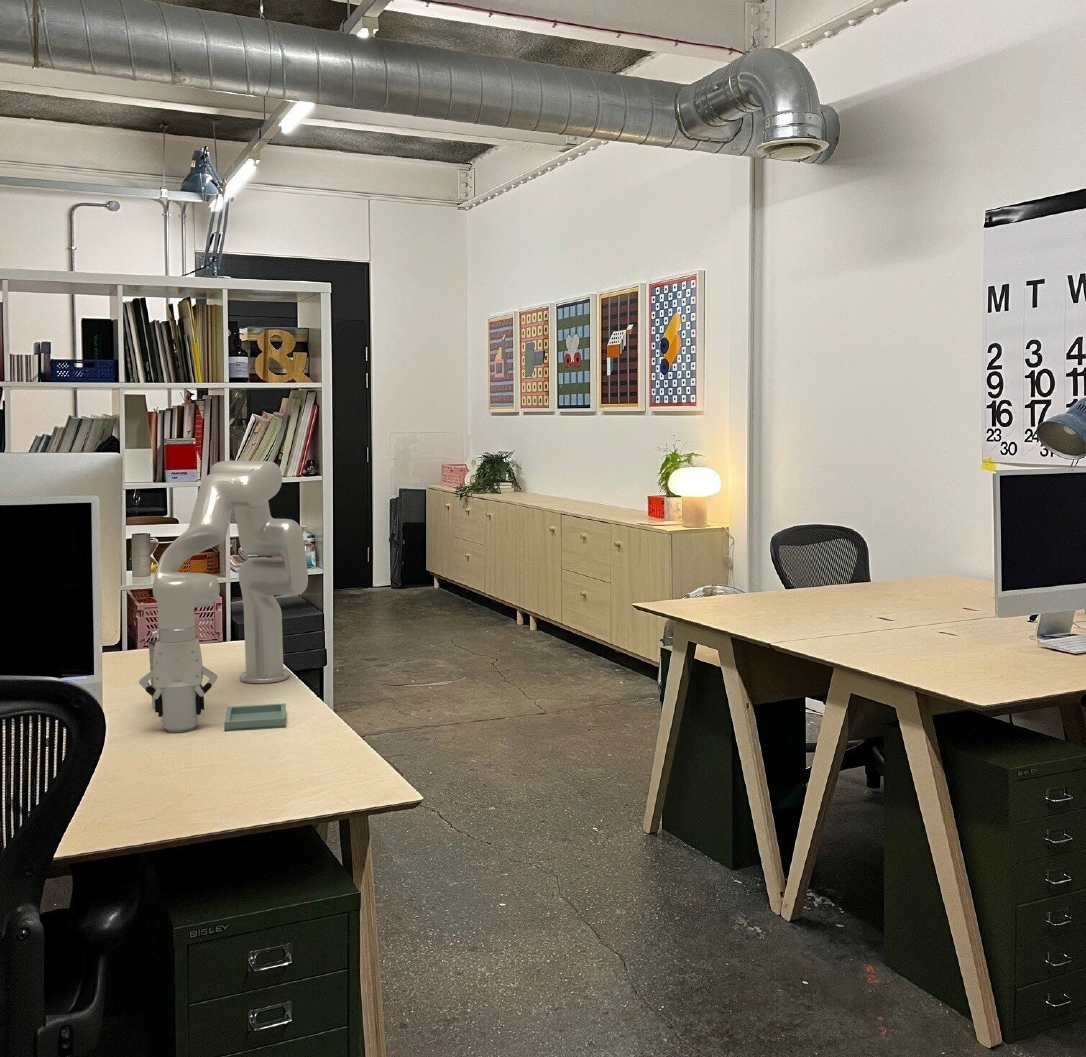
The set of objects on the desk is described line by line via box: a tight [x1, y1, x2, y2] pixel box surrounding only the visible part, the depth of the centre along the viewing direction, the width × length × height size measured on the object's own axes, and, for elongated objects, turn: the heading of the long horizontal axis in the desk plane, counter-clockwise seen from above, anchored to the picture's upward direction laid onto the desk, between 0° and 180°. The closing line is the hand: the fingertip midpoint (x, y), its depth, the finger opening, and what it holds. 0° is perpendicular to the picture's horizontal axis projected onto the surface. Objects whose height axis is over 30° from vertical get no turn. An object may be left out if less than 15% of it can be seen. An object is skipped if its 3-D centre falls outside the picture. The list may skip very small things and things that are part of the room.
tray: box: [223, 703, 287, 732], centre depth 248 cm, size 13×13×2 cm
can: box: [161, 679, 199, 733], centre depth 242 cm, size 8×8×12 cm
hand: (180, 713), depth 242 cm, fingers closed on can, 7 cm apart
